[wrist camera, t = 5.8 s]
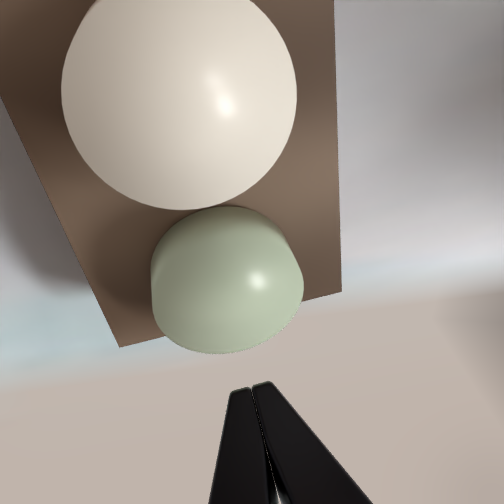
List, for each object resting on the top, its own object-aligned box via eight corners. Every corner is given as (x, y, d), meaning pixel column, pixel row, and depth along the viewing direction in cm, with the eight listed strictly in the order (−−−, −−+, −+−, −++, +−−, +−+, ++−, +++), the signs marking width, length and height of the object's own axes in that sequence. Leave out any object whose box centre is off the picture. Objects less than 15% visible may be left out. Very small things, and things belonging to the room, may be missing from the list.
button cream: (34, -11, 9) (16, 3, 7) (263, -53, 9) (285, -49, 8) (111, 194, 11) (108, 230, 10) (285, 155, 12) (304, 184, 10)
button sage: (132, 226, 13) (132, 259, 12) (282, 191, 13) (297, 220, 12) (170, 331, 16) (173, 368, 14) (294, 300, 16) (308, 333, 15)
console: (-186, -436, 8) (-324, -588, 6) (265, -483, 9) (316, -639, 6) (121, 291, 18) (119, 347, 16) (315, 244, 19) (341, 291, 16)
